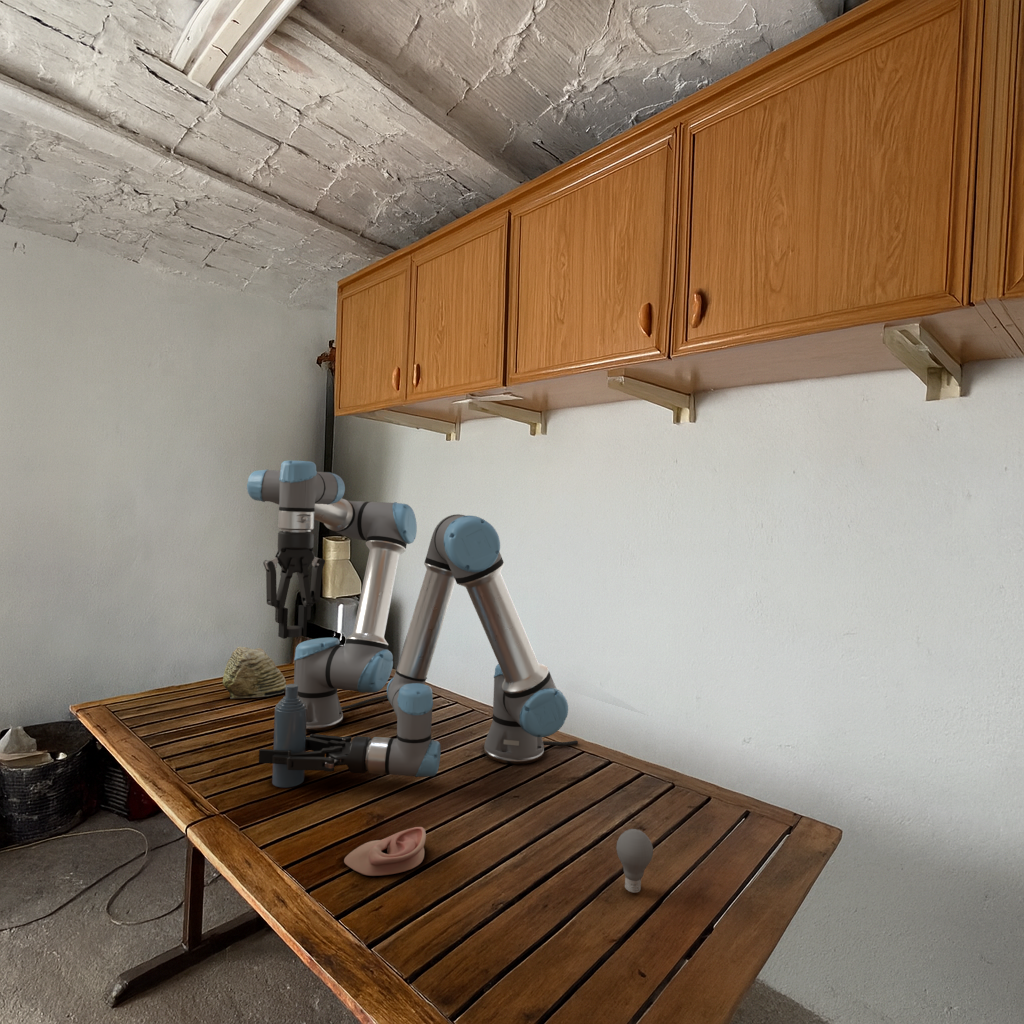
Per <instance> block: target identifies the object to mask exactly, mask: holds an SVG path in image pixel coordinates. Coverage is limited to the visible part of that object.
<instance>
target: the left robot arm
mask: <svg viewBox="0 0 1024 1024" xmlns="http://www.w3.org/2000/svg"><path fill="white" fill-rule="evenodd" d="M246 490H247V493H248V495H249V497H250V498H251V499H252V500H254V501H257V502H262V503H266V502H269V503H274V504H276V505H278V519H277V520H278V521H277V523H278V524H277V528H278V529H279V531H278V533H277V552H276V554H275V555H274V557H273V558H271V559H265V560H263V563H262V564H263V566H264V569H265V571H266V573H265V583H266V584H265V585H266V587H265V589H266V592H265V593H266V604H267V605H269V606H271V607H274V610H275V611H274V621H275V623H277V624H278V635H277V636H278V637H279V638H281V639H285V640H286V639H288V637H287V626H288V618H289V608H287V607H285V606H286V602H287V597H288V593H289V588H290V583H291V579H292V578H293V575H294V574H296V576H297V577H298V585H299V590H300V597H301V603H302V604H299V605H298V614H297V615H298V617H297V626H301V627H302V635H301V636H300V637H306V636H307V632H308V631H307V628H308V621H310V620H311V618H312V617H311V616H312V615H311V613H312V607H313V606H314V604H316V603H319V602H320V600H321V590H322V589H321V588H322V578H323V577H322V576H323V575H322V574H323V569H324V566H325V564H326V560H325V559H324V558H319V557H316V556H315V552H314V543H315V542H314V541H315V540H314V538H315V533H314V532H313V531H312V530H314V529H315V521H318V522H320V523H322V524H323V525H324V526H325V527H326V528H327V529H329V530H331V531H333V532H335V533H338V534H339V535H340V534H341V535H343V536H346V537H348V538H351V539H354V540H357V541H365V545H366V547H367V548H368V550H369V553H368V557H367V562H366V567H365V572H364V577H363V581H362V586H361V591H360V595H359V601H358V607H357V611H356V617H355V621H354V626H353V630H352V633H351V634H350V635H348V636H347V637H346V638H345V643H344V645H341V641H340V639H339V638H338V637H318V638H313V639H307V640H304V641H302V642H299V643H298V644H297V645H296V647H295V652H294V659H293V660H294V672H293V684H297V685H298V696H299V697H300V698H301V699H302V700H303V701H304V702H305V703H306V705H307V723H306V733H316V732H325V731H329V730H332V729H335V728H337V727H339V726H340V725H342V723H343V722H344V714H343V710H348V709H352V708H356V707H358V706H361V705H363V704H367V703H371V702H374V701H379V700H383V699H388V698H387V694H384V695H380V696H376V697H371V698H368V699H364V700H361V701H359V702H356V703H352V704H348V705H343V706H341V702H340V699H339V695H338V690H344V691H351V692H358V693H362V694H363V693H371V694H374V693H378V692H380V691H381V690H382V689H383V688H384V687H385V685H386V684H388V682H389V679H390V676H391V675H392V670H393V668H394V667H393V666H394V661H393V659H394V656H393V653H392V651H390V650H389V649H388V647H389V643H388V642H387V640H386V639H385V634H386V629H387V624H388V618H389V613H390V608H391V602H392V597H393V591H394V587H395V581H396V576H397V571H398V565H399V559H400V556H401V555H402V554H404V553H405V552H406V550H407V546H408V545H410V544H413V543H414V542H415V540H416V537H417V532H418V526H417V518H416V514H415V512H414V510H413V508H412V507H411V506H410V505H409V504H407V503H401V502H396V501H394V502H387V501H386V502H383V501H366V500H365V501H364V500H361V501H360V500H347V499H345V498H343V497H344V495H345V491H346V486H345V482H344V480H343V478H342V477H341V476H340V475H338V474H336V473H334V472H333V473H332V472H330V471H317V465H316V463H315V462H313V461H308V460H290V459H289V460H284V461H282V462H281V464H280V470H276V469H275V470H274V469H273V470H272V469H260V470H259V469H258V470H254V471H252V472H251V473H250V474H249V476H248V478H247V483H246ZM278 565H279V567H280V569H281V570H280V577H279V578H280V579H279V583H278V586H277V568H278ZM310 566H312V568H311V578H310V580H309V576H310V573H309V567H310ZM427 679H428V676H427V677H426V680H427Z"/></svg>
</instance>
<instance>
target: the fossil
mask: <svg viewBox="0 0 1024 1024" xmlns="http://www.w3.org/2000/svg"><path fill="white" fill-rule="evenodd" d="M222 676H223V677H222V685H223V687H224V688H225V690H226V691H228V693H229V698H230V699H250V698H264V697H271V696H275V695H281V694H284V693H285V690H286V689H285V686H286V685H287V680H286V678H285V676H284V674H283V673H282V672H281V669H279V668H278V667H277V665H276V663H275V662H274V660H273V659H272V658H271V657H270V656H269V655H268V654H267V653H266V652H265V650H264V649H263V648H260V647H258V648H251V647H247V646H246V647H245V646H238V647H237V648H236V649H235V650H233V651H232V653H231V656H230V657H229V659H228V660H227V663H226V666H225V668H224V671H223V675H222Z"/></svg>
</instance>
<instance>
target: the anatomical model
mask: <svg viewBox="0 0 1024 1024" xmlns="http://www.w3.org/2000/svg"><path fill="white" fill-rule="evenodd" d="M426 839H427V834H426V829H425V827H423V826H415V827H411V828H407V829H404V830H401V831H398V832H396V833H394V834H392V835H389V836H387V837H385V838H383V839H376V840H370V841H368V842H365V843H363V844H361V845H359V846H357V847H356V848H355V849H353V850H352V851H350V852H349V853H348V854H347V855H346V856H345V857H344V859H343V863H344V865H346V866H347V867H348V868H350V869H352V870H353V871H355V872H356V873H359V874H361V875H364V876H369V877H377V876H389V875H394V874H395V875H396V874H399V873H403V872H407V871H409V870H412V869H414V868H416V867H418V866H419V865H421V863H422V862H423V860H424V859H425V848H424V846H425V844H426Z"/></svg>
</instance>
